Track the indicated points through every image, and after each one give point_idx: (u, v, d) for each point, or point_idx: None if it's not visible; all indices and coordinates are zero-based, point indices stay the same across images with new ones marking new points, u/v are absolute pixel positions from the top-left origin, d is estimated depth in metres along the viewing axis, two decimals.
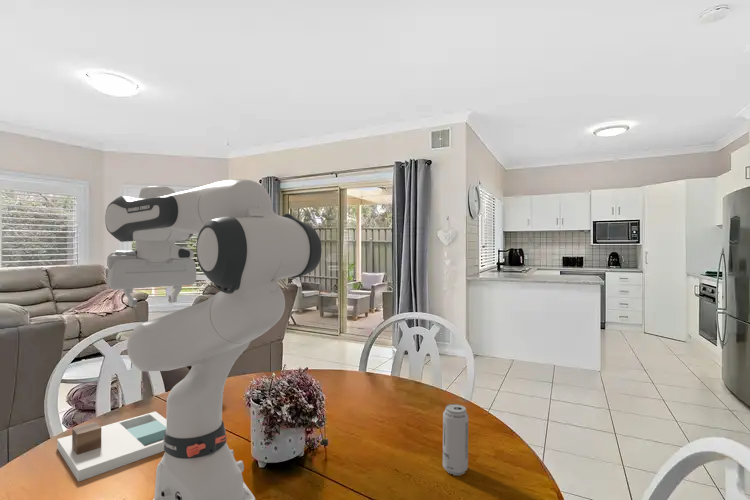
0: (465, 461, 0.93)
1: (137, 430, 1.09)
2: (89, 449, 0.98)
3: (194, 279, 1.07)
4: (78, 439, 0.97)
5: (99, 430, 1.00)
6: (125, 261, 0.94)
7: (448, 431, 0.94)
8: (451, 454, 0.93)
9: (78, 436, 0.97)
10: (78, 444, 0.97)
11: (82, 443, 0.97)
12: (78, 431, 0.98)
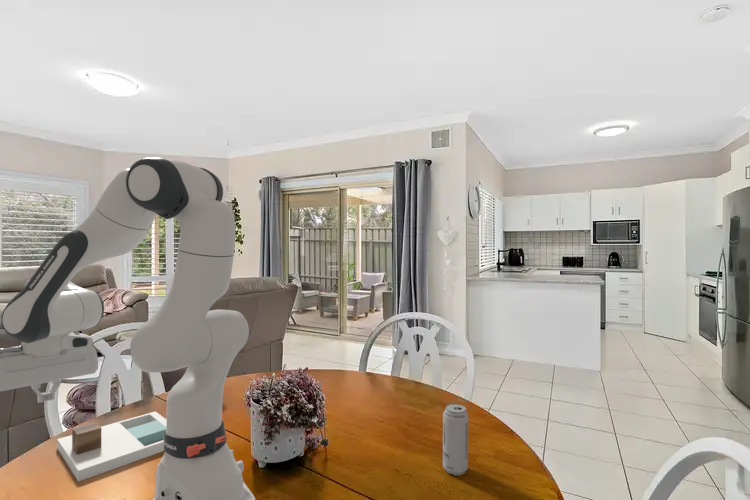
0: (465, 461, 0.93)
1: (137, 430, 1.09)
2: (89, 449, 0.98)
3: (95, 367, 1.00)
4: (78, 439, 0.97)
5: (99, 430, 1.00)
6: (6, 360, 0.87)
7: (448, 431, 0.94)
8: (451, 454, 0.93)
9: (78, 436, 0.97)
10: (78, 444, 0.97)
11: (82, 443, 0.97)
12: (78, 431, 0.98)
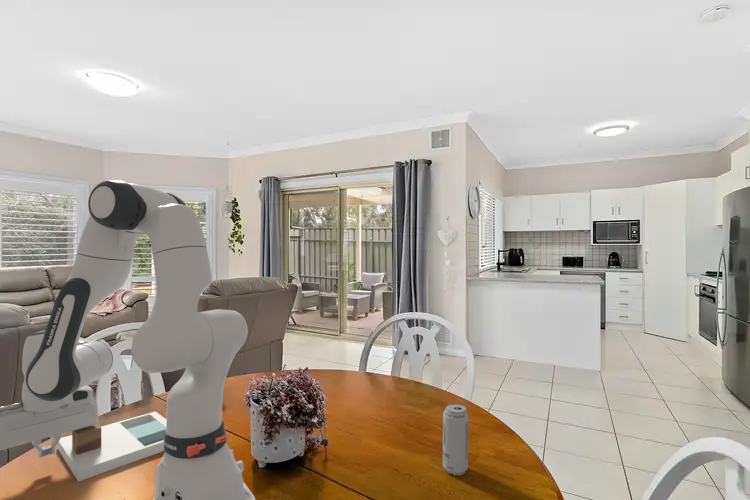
0: (465, 461, 0.93)
1: (137, 430, 1.09)
2: (89, 449, 0.98)
3: (96, 418, 1.00)
4: (78, 439, 0.97)
5: (99, 430, 1.00)
6: (6, 418, 0.87)
7: (448, 431, 0.94)
8: (451, 454, 0.93)
9: (78, 436, 0.97)
10: (78, 444, 0.97)
11: (82, 443, 0.97)
12: (78, 431, 0.98)
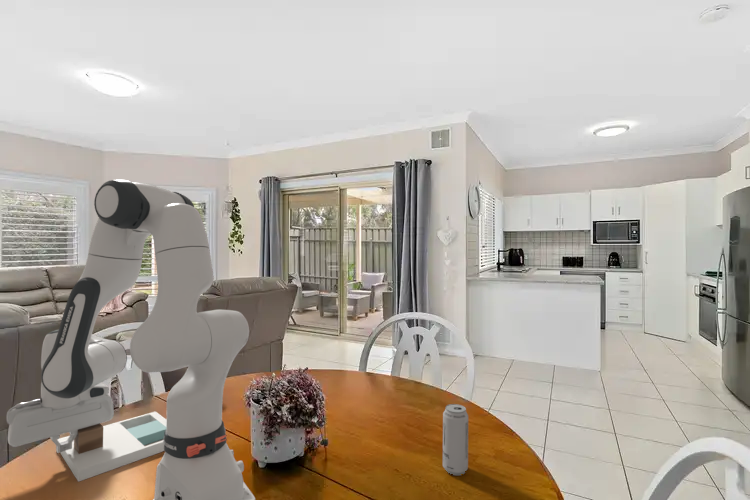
0: (465, 461, 0.93)
1: (137, 430, 1.09)
2: (91, 448, 0.99)
3: (111, 415, 1.02)
4: (80, 438, 0.97)
5: (101, 429, 1.00)
6: (27, 414, 0.90)
7: (448, 431, 0.94)
8: (451, 454, 0.93)
9: (80, 435, 0.97)
10: (80, 443, 0.97)
11: (84, 442, 0.98)
12: (80, 430, 0.99)
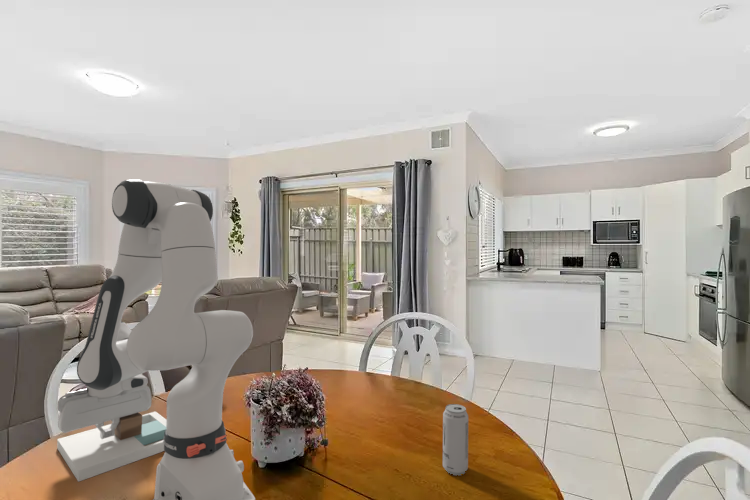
0: (465, 461, 0.93)
1: None
2: (131, 435, 1.05)
3: (149, 404, 1.09)
4: (122, 425, 1.04)
5: (140, 418, 1.07)
6: (76, 402, 0.97)
7: (448, 431, 0.94)
8: (451, 454, 0.93)
9: (122, 422, 1.04)
10: (122, 430, 1.04)
11: (125, 429, 1.04)
12: (121, 417, 1.05)
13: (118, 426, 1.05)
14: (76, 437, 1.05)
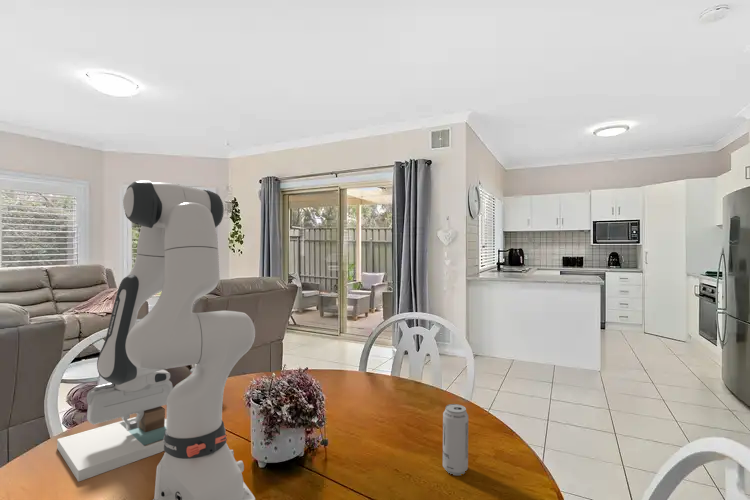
0: (465, 461, 0.93)
1: (137, 430, 1.09)
2: (154, 428, 1.10)
3: None
4: (146, 418, 1.08)
5: (163, 411, 1.12)
6: (104, 396, 1.01)
7: (448, 431, 0.94)
8: (451, 454, 0.93)
9: (146, 415, 1.08)
10: (146, 422, 1.08)
11: (149, 422, 1.09)
12: (145, 411, 1.10)
13: (142, 419, 1.09)
14: (76, 437, 1.05)
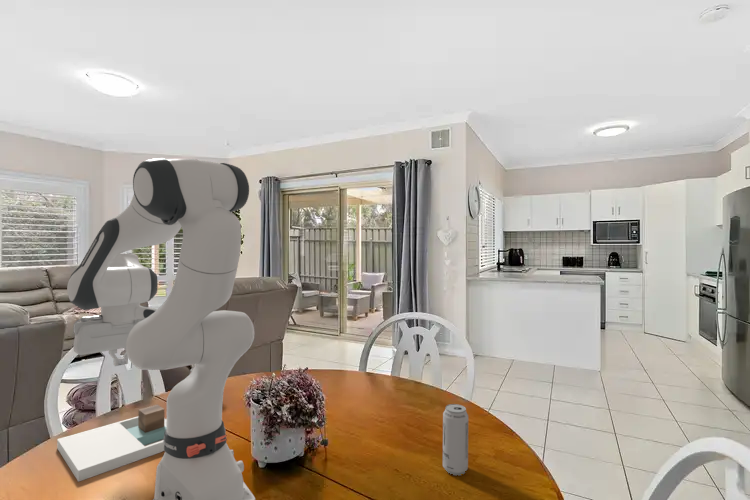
0: (465, 461, 0.93)
1: (137, 430, 1.09)
2: (154, 428, 1.10)
3: None
4: (146, 419, 1.08)
5: (163, 411, 1.12)
6: (90, 327, 0.99)
7: (448, 431, 0.94)
8: (451, 454, 0.93)
9: (146, 416, 1.08)
10: (146, 423, 1.08)
11: (149, 422, 1.09)
12: (144, 411, 1.10)
13: (142, 420, 1.09)
14: (76, 437, 1.05)
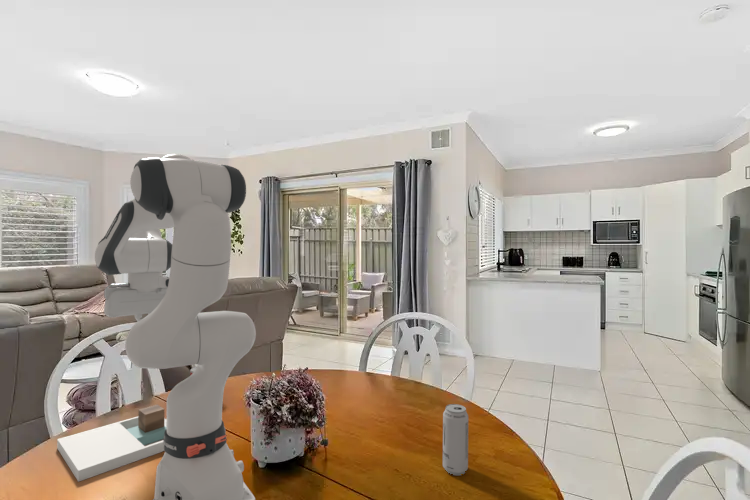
0: (465, 461, 0.93)
1: (137, 430, 1.09)
2: (154, 428, 1.10)
3: None
4: (146, 419, 1.08)
5: (163, 411, 1.12)
6: (119, 292, 1.10)
7: (448, 431, 0.94)
8: (451, 454, 0.93)
9: (146, 416, 1.08)
10: (146, 423, 1.08)
11: (149, 422, 1.09)
12: (144, 411, 1.10)
13: (142, 420, 1.09)
14: (76, 437, 1.05)
